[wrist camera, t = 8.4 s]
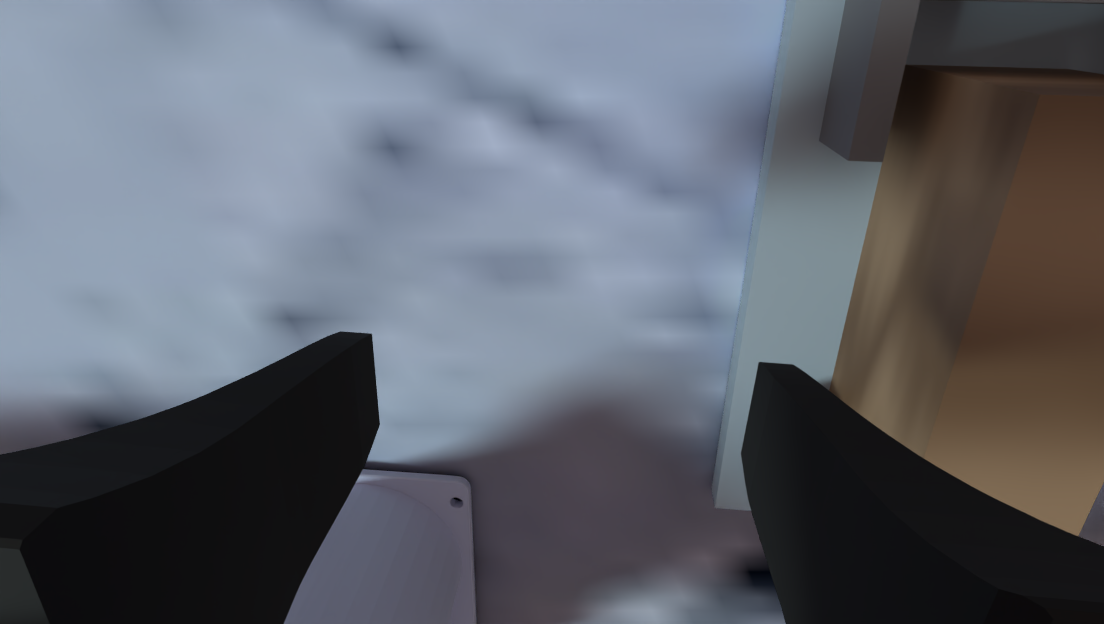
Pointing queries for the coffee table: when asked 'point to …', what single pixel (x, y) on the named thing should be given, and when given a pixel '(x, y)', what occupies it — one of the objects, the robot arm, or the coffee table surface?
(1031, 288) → the tan wooden block
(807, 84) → the board
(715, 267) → the coffee table surface
